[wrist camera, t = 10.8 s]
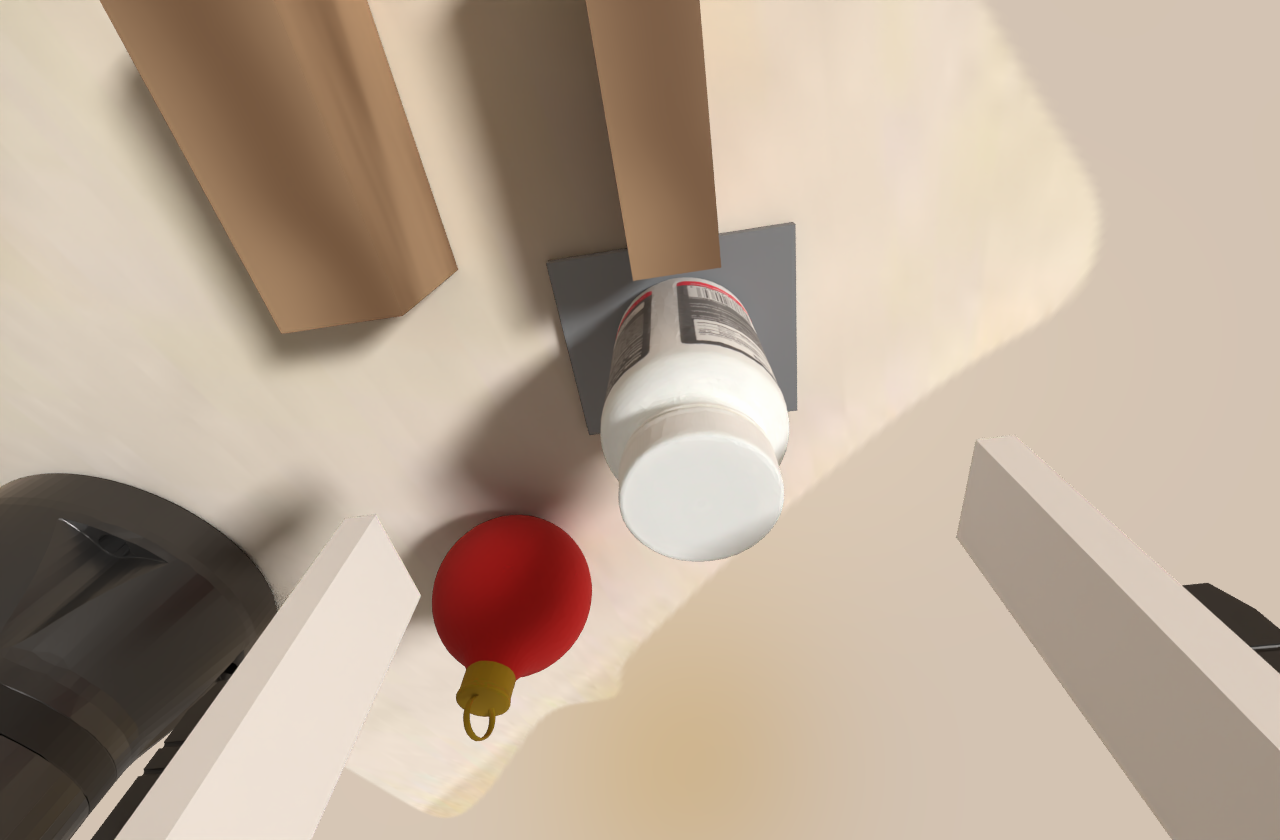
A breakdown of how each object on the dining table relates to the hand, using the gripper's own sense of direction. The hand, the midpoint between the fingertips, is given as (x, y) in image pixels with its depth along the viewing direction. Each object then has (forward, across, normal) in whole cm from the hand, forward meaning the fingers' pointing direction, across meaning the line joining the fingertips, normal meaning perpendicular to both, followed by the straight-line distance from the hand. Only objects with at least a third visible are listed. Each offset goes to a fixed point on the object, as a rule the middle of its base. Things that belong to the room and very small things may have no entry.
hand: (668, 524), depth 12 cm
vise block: (+11, -4, +9) cm, 15 cm away
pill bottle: (+11, +1, 0) cm, 11 cm away
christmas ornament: (+11, -8, -10) cm, 17 cm away
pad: (+11, +1, 0) cm, 11 cm away
